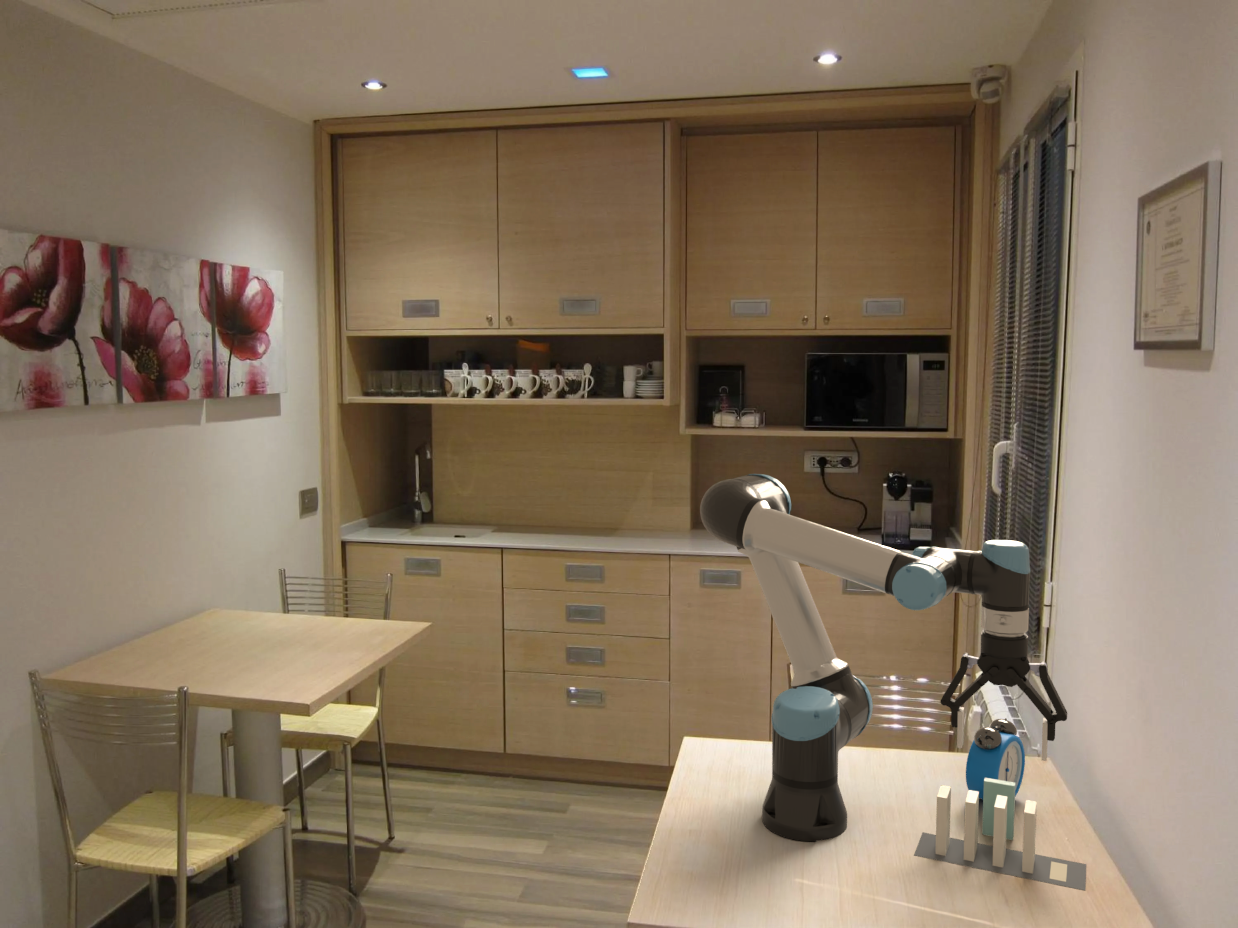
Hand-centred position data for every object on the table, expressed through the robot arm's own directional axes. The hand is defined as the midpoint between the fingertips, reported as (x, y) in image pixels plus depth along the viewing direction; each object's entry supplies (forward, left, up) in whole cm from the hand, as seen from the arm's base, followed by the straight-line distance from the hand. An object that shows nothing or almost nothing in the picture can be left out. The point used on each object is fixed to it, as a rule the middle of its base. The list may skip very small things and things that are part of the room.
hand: (1001, 751), depth 169 cm
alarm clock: (-2, +15, -16) cm, 22 cm away
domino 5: (+5, -9, -15) cm, 18 cm away
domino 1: (-8, -9, -15) cm, 19 cm away
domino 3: (0, 0, -15) cm, 15 cm away
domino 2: (-4, -9, -15) cm, 18 cm away
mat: (+1, -9, -15) cm, 18 cm away
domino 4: (+1, -9, -15) cm, 18 cm away
